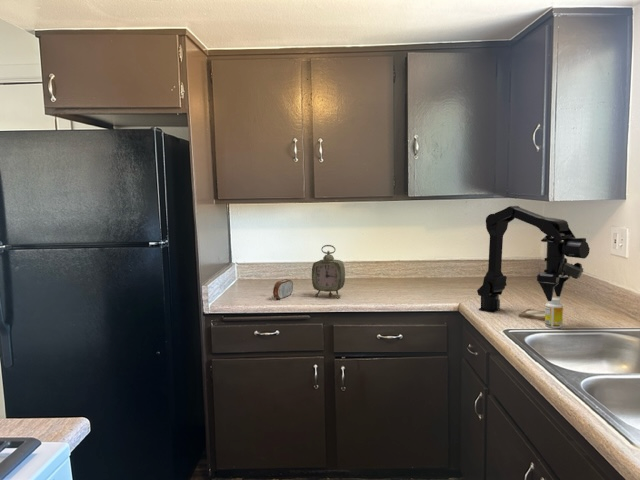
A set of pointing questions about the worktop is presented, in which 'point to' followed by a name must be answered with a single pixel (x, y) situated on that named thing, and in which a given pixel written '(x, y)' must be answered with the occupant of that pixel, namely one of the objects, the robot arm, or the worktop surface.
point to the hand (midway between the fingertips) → (554, 298)
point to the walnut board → (533, 314)
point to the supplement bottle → (554, 313)
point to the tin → (283, 289)
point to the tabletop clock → (328, 274)
